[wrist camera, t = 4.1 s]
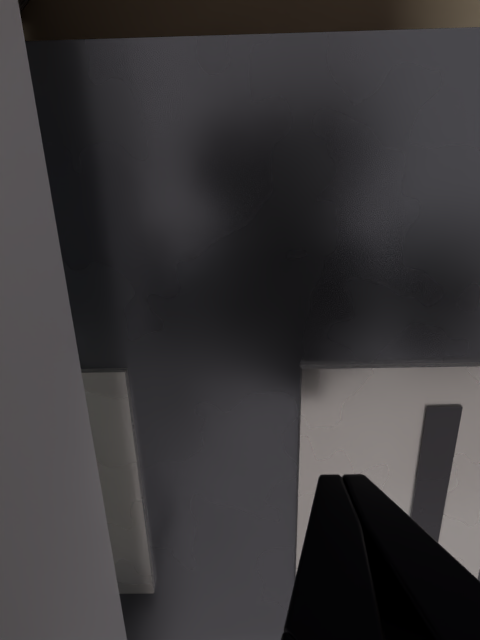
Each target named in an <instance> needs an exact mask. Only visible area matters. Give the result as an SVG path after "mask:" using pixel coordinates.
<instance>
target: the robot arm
mask: <svg viewBox="0 0 480 640" xmlns="http://www.w3.org/2000/svg"><path fill="white" fill-rule="evenodd" d="M281 640H480V581H479V580H478V579H477V578H476V577H475V576H474V575H472V574H471V573H470V572H469V571H468V570H467V569H466V568H465V567H464V566H463V565H462V564H461V563H460V562H458V561H457V560H456V559H455V558H454V557H453V556H452V555H451V554H450V553H449V552H448V551H447V550H445V549H444V548H443V547H442V546H441V545H440V544H439V543H438V542H437V541H436V540H435V539H434V538H432V537H431V536H430V535H429V534H428V533H427V532H426V531H425V530H424V529H423V528H422V527H421V526H419V525H418V524H417V523H416V522H415V521H414V520H413V519H412V518H411V517H410V516H409V515H408V514H407V513H405V512H404V511H403V510H402V509H401V508H400V507H399V506H398V505H397V504H396V503H395V502H394V501H392V500H391V499H390V498H389V497H388V496H387V495H386V494H385V493H384V492H383V491H382V490H381V489H379V488H378V487H377V486H376V485H375V484H374V483H373V482H372V481H371V480H370V479H369V478H368V477H366V476H365V475H363V474H344V475H343V476H342V477H341V476H340V475H339V474H322V475H320V476H319V478H318V482H317V487H316V491H315V495H314V500H313V504H312V508H311V513H310V517H309V521H308V526H307V530H306V534H305V538H304V543H303V547H302V551H301V556H300V560H299V564H298V569H297V573H296V577H295V582H294V586H293V590H292V595H291V599H290V603H289V608H288V612H287V616H286V621H285V625H284V633H283V634H282V637H281Z"/></svg>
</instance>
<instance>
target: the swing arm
mask: <svg viewBox="0 0 480 640" xmlns="http://www.w3.org/2000/svg"><path fill="white" fill-rule="evenodd" d="M0 640H127V637H126V631H125V625H124V619H123V613H122V607H121V602H120V596H119V590H118V584H117V578H116V572H115V566H114V561H113V555H112V549H111V543H110V537H109V531H108V525H107V520H106V514H105V508H104V502H103V496H102V490H101V484H100V478H99V473H98V467H97V461H96V455H95V449H94V443H93V437H92V432H91V426H90V420H89V414H88V408H87V402H86V396H85V391H84V385H83V379H82V373H81V367H80V361H79V355H78V349H77V344H76V338H75V332H74V326H73V320H72V314H71V308H70V303H69V297H68V291H67V285H66V279H65V273H64V267H63V262H62V256H61V250H60V244H59V238H58V232H57V226H56V220H55V215H54V209H53V203H52V197H51V191H50V185H49V179H48V174H47V168H46V162H45V156H44V150H43V144H42V138H41V133H40V127H39V121H38V115H37V109H36V103H35V97H34V91H33V86H32V80H31V74H30V68H29V62H28V56H27V50H26V45H25V39H24V33H23V27H22V21H21V15H20V9H19V4H18V0H0Z"/></svg>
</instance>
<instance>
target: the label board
mask: <svg viewBox="0 0 480 640" xmlns="http://www.w3.org/2000/svg"><path fill="white" fill-rule="evenodd" d="M27 2H28V0H18V4H19V9H20V11H21V10H22V9H23V8H24V6H25V5H26V4H27ZM25 45H26V50H27V56H28V62H29V68H30V74H31V80H32V86H33V91H34V97H35V103H36V109H37V115H38V121H39V127H40V133H41V138H42V144H43V150H44V156H45V162H46V168H47V174H48V179H49V185H50V191H51V197H52V203H53V209H54V215H55V220H56V226H57V232H58V238H59V244H60V250H61V256H62V262H63V267H64V273H65V279H66V285H67V291H68V297H69V303H70V308H71V314H72V320H73V326H74V332H75V338H76V344H77V349H78V355H79V361H80V367H81V373H82V379H83V385H84V391H85V396H86V402H87V408H88V414H89V420H90V426H91V432H92V437H93V443H94V449H95V455H96V461H97V467H98V473H99V478H100V484H101V490H102V496H103V502H104V508H105V514H106V520H107V525H108V531H109V537H110V543H111V549H112V555H113V561H114V566H115V572H116V578H117V584H118V590H119V596H120V602H121V607H122V613H123V619H124V625H125V631H126V637H127V640H281V637H282V634H283V633H284V625H285V621H286V616H287V612H288V608H289V603H290V599H291V595H292V590H293V586H294V582H295V577H296V573H297V569H298V564H299V560H300V556H301V551H302V547H303V543H304V538H305V534H306V530H307V526H308V521H309V517H310V513H311V508H312V504H313V500H314V495H315V491H316V487H317V482H318V478H319V476H320V475H322V474H339V475H340V476H341V477H342V476H343V475H344V474H363V475H365V476H366V477H368V478H369V479H370V480H371V481H372V482H373V483H374V484H375V485H376V486H377V487H378V488H379V489H381V490H382V491H383V492H384V493H385V494H386V495H387V496H388V497H389V498H390V499H391V500H392V501H394V502H395V503H396V504H397V505H398V506H399V507H400V508H401V509H402V510H403V511H404V512H405V513H407V514H408V515H409V516H410V517H411V518H412V519H413V520H414V521H415V522H416V523H417V524H418V525H419V526H421V527H422V528H423V529H424V530H425V531H426V532H427V533H428V534H429V535H430V536H431V537H432V538H434V539H435V540H436V541H437V542H438V543H439V544H440V545H441V546H442V547H443V548H444V549H445V550H447V551H448V552H449V553H450V554H451V555H452V556H453V557H454V558H455V559H456V560H457V561H458V562H460V563H461V564H462V565H463V566H464V567H465V568H466V569H467V570H468V571H469V572H470V573H471V574H472V575H474V576H475V577H476V578H477V579H478V580H479V581H480V27H472V28H439V29H407V30H374V31H342V32H309V33H277V34H244V35H211V36H179V37H146V38H114V39H81V40H49V41H25Z"/></svg>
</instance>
